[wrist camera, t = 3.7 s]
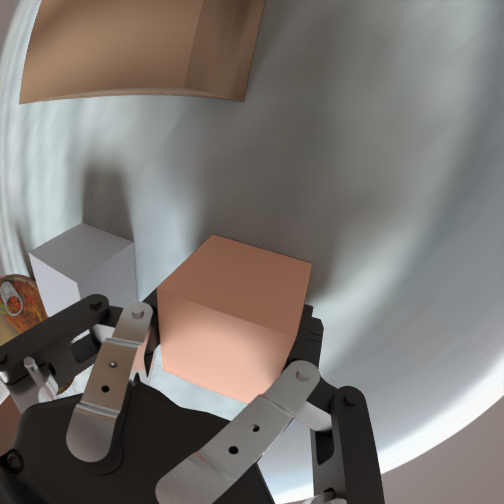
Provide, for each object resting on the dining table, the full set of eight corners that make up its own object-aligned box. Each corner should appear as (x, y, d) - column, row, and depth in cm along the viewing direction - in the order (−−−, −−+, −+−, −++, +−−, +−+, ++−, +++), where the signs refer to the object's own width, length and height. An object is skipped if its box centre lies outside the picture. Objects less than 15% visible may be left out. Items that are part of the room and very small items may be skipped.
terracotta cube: (213, 234, 13) (156, 287, 9) (312, 263, 13) (296, 336, 8) (205, 310, 16) (163, 369, 12) (286, 337, 15) (263, 408, 11)
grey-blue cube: (83, 222, 16) (28, 252, 12) (135, 241, 15) (76, 282, 11) (90, 280, 19) (47, 315, 14) (139, 304, 18) (95, 349, 13)
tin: (88, 368, 27) (50, 411, 20) (75, 362, 28) (38, 402, 21) (31, 260, 21) (-26, 299, 14) (21, 260, 22) (-30, 296, 15)
